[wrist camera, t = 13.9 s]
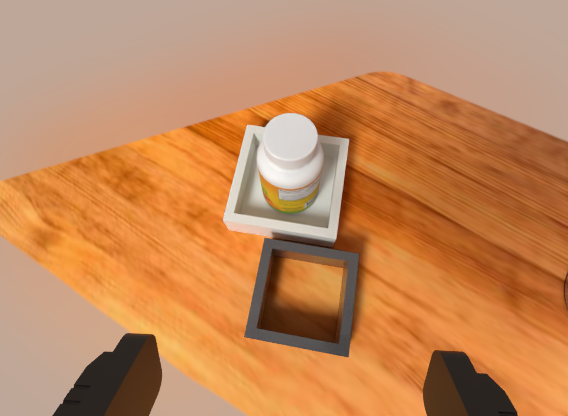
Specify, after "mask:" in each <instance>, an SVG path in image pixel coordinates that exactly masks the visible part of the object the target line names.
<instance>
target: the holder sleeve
mask: <svg viewBox="0 0 568 416" xmlns="http://www.w3.org/2000/svg"><path fill="white" fill-rule="evenodd" d="M274 256H277V257H282V258H288V259H294V260H300V261H306V262H311V263H317V264H323V265H329V266H335V267H340V268H344V269H343V278H342V286H341V294H340V303H339V311H338V320H337V328H336V337H335V343H331V342H326V341H320V340H315V339H310V338H305V337H299V336H294V335H289V334H284V333H279V332H273V331H268V330H263V329H260V326H261V321H262V316H263V311H264V305H265V300H266V295H267V290H268V285H269V279H270V274H271V269H272V264H273V259H274ZM358 261H359V254H358V253H352V252H346V251H340V250H334V249H328V248H322V247H316V246H310V245H304V244H299V243H293V242H287V241H281V240H275V239H269V238H265V239H264V244H263V249H262V254H261V258H260V263H259V268H258V273H257V278H256V283H255V288H254V292H253V297H252V302H251V307H250V312H249V317H248V322H247V326H246V331H245V336H244V337H246V338H252V339H257V340H262V341H267V342H272V343H277V344H282V345H288V346H293V347H298V348H303V349H308V350H313V351H318V352H324V353H329V354H334V355H339V356H344V357H349V347H350V338H351V328H352V319H353V309H354V299H355V290H356V280H357V271H358Z"/></svg>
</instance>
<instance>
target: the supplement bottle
mask: <svg viewBox="0 0 568 416" xmlns="http://www.w3.org/2000/svg"><path fill="white" fill-rule="evenodd" d="M323 163H324V152H323V148H322V146H321V143H320V142H319V140H318V133H317V129H316V127H315V125H314V124H313V123H312V122H311V121H310V120H309V119H308V118H307V117H305V116H303V115H300V114H296V113H285V114H281V115H278V116H276V117H275V118H273V119H272V120H271V121H270V122H269V123H268V124H267V125H266V127H265V129H264V132H263V140H262V141H261V143H260V145H259V147H258V150H257V166H258V171H259V177H260V182H261V187H262V192H263V196H264V199H265V201H266V202H267V204H268V205H269V206H270V207H271V208H272V209H273V210H275V211H276V212H278V213H281V214H285V215H296V214H299V213H302V212H304V211H306V210H307V209H308V208H310V207H311V206H312V204H313V203H314V202H315V200H316V197H317V194H318V190H319V185H320V179H321V174H322V169H323Z"/></svg>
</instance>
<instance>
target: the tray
mask: <svg viewBox="0 0 568 416" xmlns="http://www.w3.org/2000/svg"><path fill="white" fill-rule="evenodd" d="M264 129H265V127H260V126H253V125H247V128H246V131H245V135H244V139H243V143H242V147H241V151H240V155H239V159H238V163H237V167H236V171H235V175H234V178H233V182H232V186H231V190H230V194H229V198H228V202H227V206H226V210H225V214H224V218H223V221H224V223H225V224H226V226H227V228H228V229H229V230H232V231H238V232H244V233H250V234H256V235H262V236H268V237H273V238H279V239H285V240H291V241H297V242H303V243H309V244H315V245H321V246H327V247H333V245H334V243H335V241H336V237H337V230H338V222H339V214H340V207H341V199H342V191H343V184H344V176H345V168H346V161H347V153H348V145H349V139H346V138H339V137H332V136H325V135H318V140H319V142H320V143H321V146H322V148H323V152H324V163H323V169H322V174H321V179H320V185H319V190H318V194H317V197H316V200H315V202H314V203H313V204H312V206H311V207H310V208H308V209H307V210H306V211H304V212H302V213H299V214H296V215H285V214H281V213H278V212H276V211H275V210H273V209H272V208H271V207H270V206H269V205H268V204H267V202H266V201H265V199H264V196H263V192H262V187H261V182H260V177H259V171H258V166H257V150H258V147H259V145H260V143H261V141H262V140H263V132H264Z"/></svg>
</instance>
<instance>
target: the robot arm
mask: <svg viewBox="0 0 568 416" xmlns="http://www.w3.org/2000/svg"><path fill="white" fill-rule="evenodd" d="M565 300H566V305H567V309H568V276H567V280H566V284H565ZM161 381H162V369H161V363H160V358H159V353H158V348H157V343H156V338H155V336H154V335H153V334H134V333H127V334H125V335H124V336H123V337H122V339H121V340H120V342H119V343H118V345H117V346H116V348H115V349H114V351H113V352H103V353H102V354H101V355H100V356H99V357H98V358H96V359H95V360H94V361H93V362H91V364H89V365H88V366H87V367H86V368H85V370H84V371H83V373H82V374H81V375H80V377H79V378H78V380H77V381H76V383H75V384H74V388H71V390H70V391H69V393H68V394H67V395H66V397H65V398H64V401H63V404H60V406H59V407H58V408H57V410H56V411H55V413H54V414H53V416H149V414H150V412H151V409H152V407H153V405H154V402H155V400H156V397H157V395H158V392H159V390H160V386H161ZM423 400H424V406H425V410H426V414H427V416H518V415H517V411H516V410H515V408H514V406H513V404H512V403H511V401H510V399H509V398H508V396H507V394H506V393H505V391H504V390H503V389H502V388H501V387H500V386H499V385H498V384H497V383H496V382H495V381H494V380H493V379H491V378H490V377H489V376H488V375H487V374H480V373H477V372H476V371H475V369H474V367H473V365H472V363H471V361H470V359H469V358H468V356H467V355H466V354H465V353H464V352H458V351H439V350H435V351H434V352H433V354H432V357H431V361H430V364H429V368H428V372H427V376H426V379H425V383H424V387H423Z"/></svg>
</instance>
